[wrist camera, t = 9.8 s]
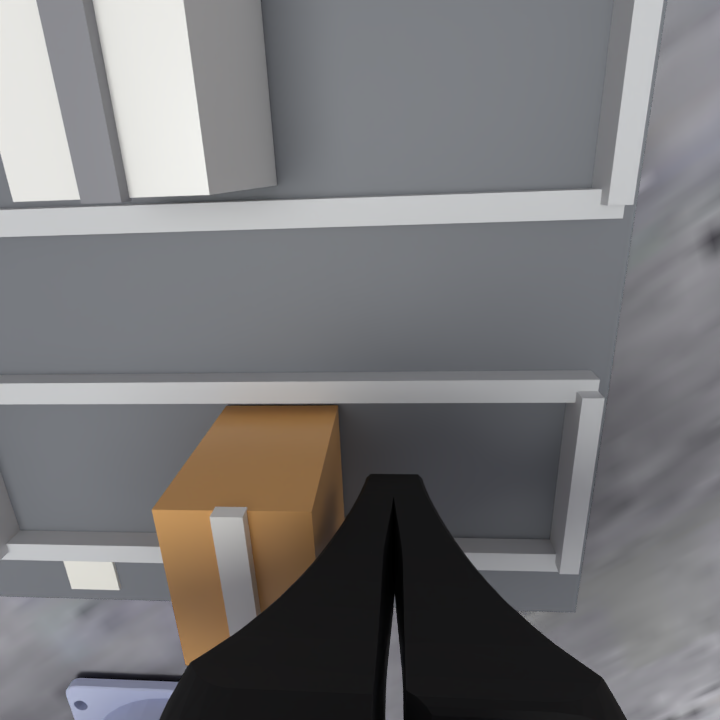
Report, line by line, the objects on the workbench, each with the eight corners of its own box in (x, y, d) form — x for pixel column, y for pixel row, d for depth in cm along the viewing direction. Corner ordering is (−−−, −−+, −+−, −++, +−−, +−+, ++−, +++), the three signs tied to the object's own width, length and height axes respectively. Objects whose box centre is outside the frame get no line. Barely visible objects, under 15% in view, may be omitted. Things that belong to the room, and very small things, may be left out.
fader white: (277, 187, 11) (203, 199, 7) (149, 192, 12) (2, 207, 7) (257, -32, 10) (149, -186, 6) (111, -22, 10) (-100, -162, 6)
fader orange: (345, 531, 15) (323, 683, 10) (244, 529, 15) (181, 677, 11) (337, 403, 13) (308, 518, 9) (226, 404, 13) (144, 516, 9)
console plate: (563, 581, 16) (586, 641, 14) (-68, 567, 18) (-128, 618, 16) (667, -190, 10) (740, -286, 8) (-350, -98, 11) (-515, -158, 9)
